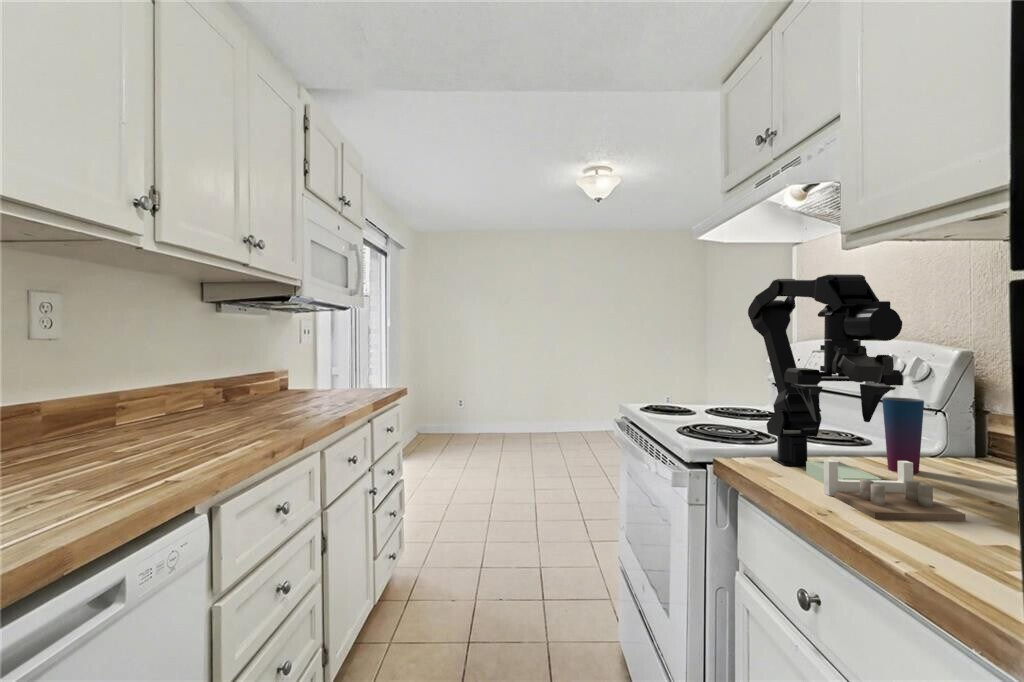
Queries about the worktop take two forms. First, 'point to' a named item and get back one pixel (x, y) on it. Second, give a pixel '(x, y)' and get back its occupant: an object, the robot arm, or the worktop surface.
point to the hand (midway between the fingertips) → (841, 421)
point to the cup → (903, 430)
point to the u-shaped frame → (854, 485)
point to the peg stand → (899, 502)
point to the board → (844, 472)
